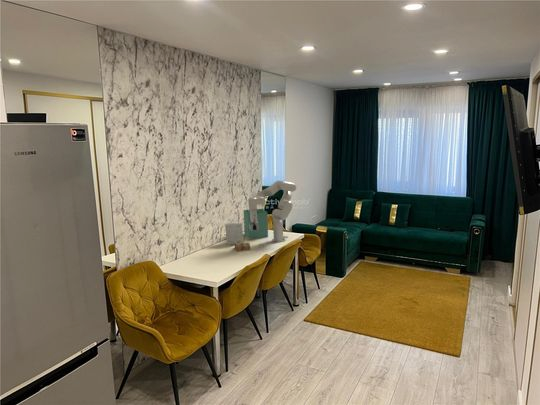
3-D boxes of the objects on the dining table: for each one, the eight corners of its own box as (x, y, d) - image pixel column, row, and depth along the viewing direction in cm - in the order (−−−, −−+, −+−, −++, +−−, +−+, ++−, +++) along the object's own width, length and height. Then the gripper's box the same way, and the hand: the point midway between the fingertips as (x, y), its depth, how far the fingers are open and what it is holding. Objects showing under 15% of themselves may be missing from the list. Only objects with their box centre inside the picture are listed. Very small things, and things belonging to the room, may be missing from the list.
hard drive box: (243, 242, 379) (242, 222, 376) (242, 244, 372) (241, 224, 368) (227, 242, 381) (227, 222, 378) (226, 244, 373) (225, 224, 370)
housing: (257, 228, 367) (257, 221, 366) (258, 229, 363) (258, 223, 362) (249, 229, 365) (249, 222, 364) (250, 230, 361) (250, 223, 359)
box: (244, 233, 414) (243, 210, 410) (263, 232, 419) (262, 208, 415) (248, 238, 392) (247, 214, 387) (268, 237, 397) (267, 212, 392)
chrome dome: (262, 246, 364) (262, 244, 364) (263, 247, 360) (263, 246, 360) (258, 246, 363) (258, 245, 363) (259, 247, 359) (259, 246, 359)
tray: (247, 246, 363) (247, 242, 363) (250, 249, 352) (249, 245, 351) (234, 247, 360) (234, 243, 360) (237, 251, 349) (237, 247, 348)
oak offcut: (247, 245, 369) (247, 242, 369) (249, 246, 366) (249, 243, 365) (243, 245, 367) (243, 242, 366) (245, 246, 364) (245, 243, 363)
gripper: (259, 211, 354) (260, 230, 357) (254, 208, 370) (255, 226, 373) (251, 212, 352) (252, 231, 355) (247, 209, 368) (248, 227, 371)
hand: (254, 228), depth 364 cm, fingers closed on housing, 5 cm apart
